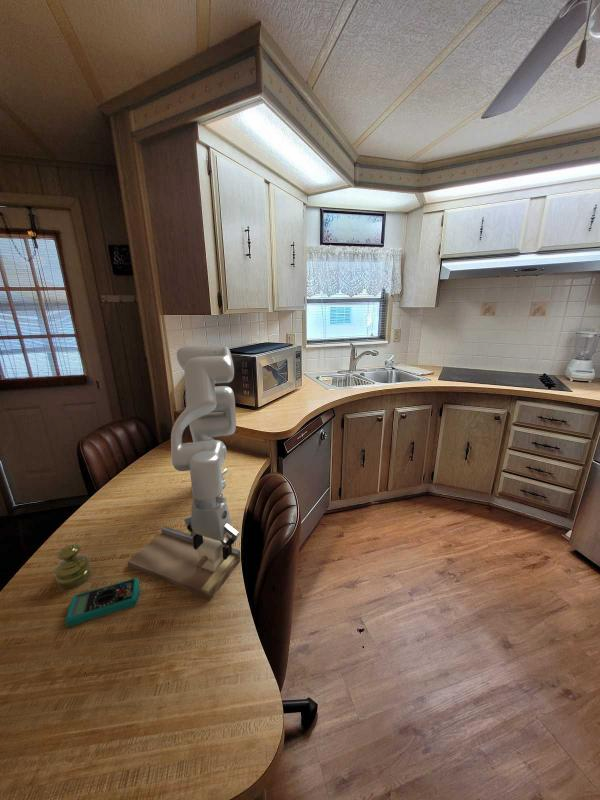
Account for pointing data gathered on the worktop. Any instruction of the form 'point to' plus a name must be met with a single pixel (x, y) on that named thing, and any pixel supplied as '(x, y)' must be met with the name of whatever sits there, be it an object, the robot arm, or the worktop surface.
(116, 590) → the digital multimeter
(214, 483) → the robot arm
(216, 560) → the block with top hole
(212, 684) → the worktop surface
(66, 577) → the brass pawn finial
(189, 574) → the board
